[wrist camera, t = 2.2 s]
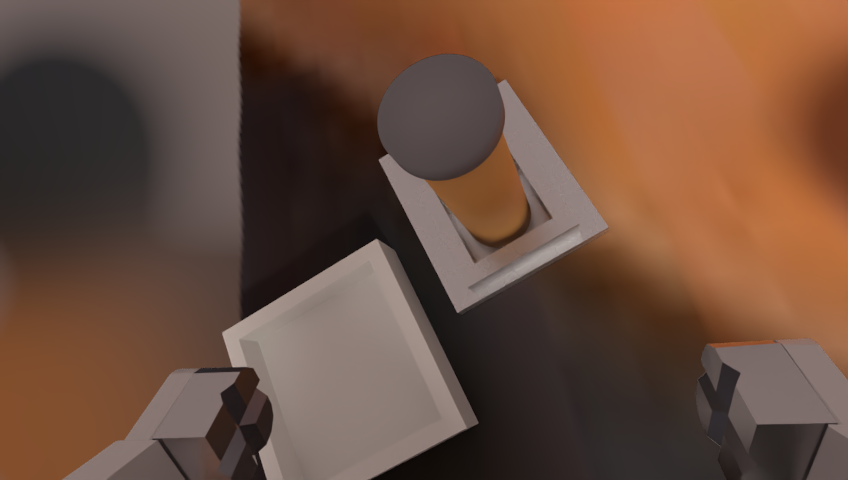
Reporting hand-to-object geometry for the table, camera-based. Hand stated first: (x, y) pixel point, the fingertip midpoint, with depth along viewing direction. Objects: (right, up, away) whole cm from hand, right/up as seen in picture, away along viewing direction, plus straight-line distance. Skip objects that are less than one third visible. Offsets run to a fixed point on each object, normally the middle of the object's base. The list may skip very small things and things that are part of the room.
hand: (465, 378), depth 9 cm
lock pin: (+4, +4, +21) cm, 22 cm away
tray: (-5, -6, +23) cm, 24 cm away
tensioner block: (+3, +5, +23) cm, 24 cm away
